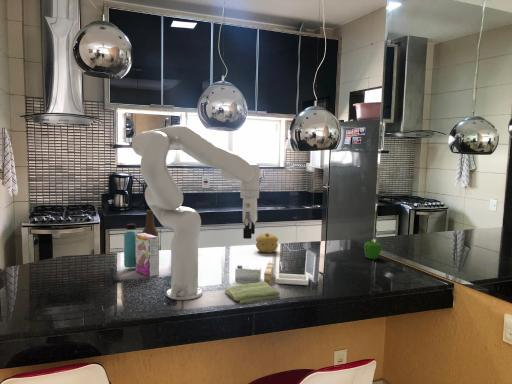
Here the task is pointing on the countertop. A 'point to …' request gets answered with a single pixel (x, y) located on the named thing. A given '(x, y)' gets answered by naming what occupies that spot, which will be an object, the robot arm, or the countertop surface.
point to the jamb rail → (268, 273)
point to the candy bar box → (147, 254)
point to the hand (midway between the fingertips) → (249, 236)
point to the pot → (266, 243)
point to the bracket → (292, 279)
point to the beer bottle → (150, 224)
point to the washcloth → (252, 292)
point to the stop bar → (248, 273)
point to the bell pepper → (372, 250)
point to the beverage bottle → (130, 247)
